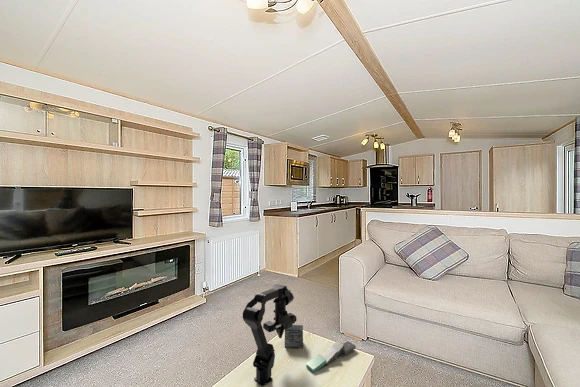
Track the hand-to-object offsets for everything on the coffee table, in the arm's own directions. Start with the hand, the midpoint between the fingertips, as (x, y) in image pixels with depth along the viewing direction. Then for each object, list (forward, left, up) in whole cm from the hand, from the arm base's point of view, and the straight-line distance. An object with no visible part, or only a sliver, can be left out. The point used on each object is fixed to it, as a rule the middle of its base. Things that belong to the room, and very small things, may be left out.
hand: (280, 338), depth 138 cm
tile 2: (+16, -16, -11) cm, 25 cm away
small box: (+15, +6, -12) cm, 20 cm away
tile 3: (+22, -16, -11) cm, 29 cm away
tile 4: (+29, -18, -10) cm, 35 cm away
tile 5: (+27, -17, -12) cm, 34 cm away
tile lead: (+7, -15, -11) cm, 20 cm away
